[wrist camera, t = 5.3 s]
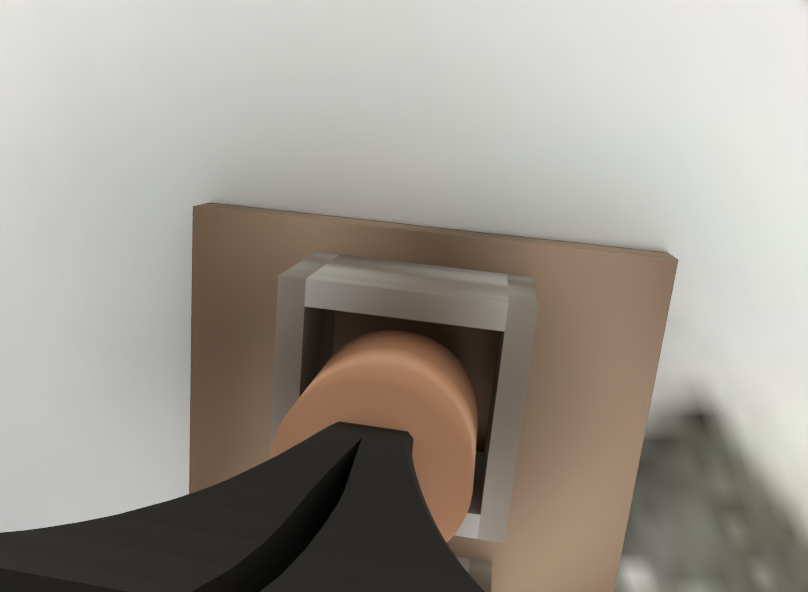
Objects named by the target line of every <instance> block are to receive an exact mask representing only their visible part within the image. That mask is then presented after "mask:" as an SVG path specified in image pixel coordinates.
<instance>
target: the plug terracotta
mask: <svg viewBox="0 0 808 592" xmlns="http://www.w3.org/2000/svg"><path fill="white" fill-rule="evenodd" d="M478 417H479V406H478V398H477V394H476V390H475V387H474V384H473V382H472V379H471V377H470V375H469V374H468V372H467V370H466V369H465V367H464V366H463V364H462V363H461V362H460V361H459V360H458V358H457V357H456V356H455V355H454V354H453V353H452V352H450V351H449V350H448V349H447V348H446V347H444V346H443V345H441V344H440V343H438V342H437V341H435V340H433V339H431V338H429V337H427V336H425V335H421V334H418V333H415V332H411V331H406V330H397V329H387V330H378V331H373V332H369V333H366V334H363V335H360V336H358V337H356V338H354V339H352V340H350V341H349V342H347V343H346V344H344V345H343V346H342V347H340V348H339V349H338V350H337V351H336V352H335V353H334V354H333V355H332V357H331V358H330V359H329V360H328V361H327V363H326V364H325V365H324V367H323V368H322V369H321V370H320V372H319V373H318V374H317V376H316V377H315V378H314V379H313V381H312V382H311V383H310V385H309V386H308V387H307V388H306V390H305V391H304V392H303V394H302V395H301V396H300V397H299V399H298V400H297V401H296V403H295V404H294V405H293V406H292V408H291V409H290V410H289V412H288V413H287V414H286V416H285V417H284V419H283V420H282V422H281V423H280V425H279V427H278V429H277V431H276V434H275V436H274V439H273V443H272V447H271V452H270V459H271V458H273V457H275V456H277V455H279V454H281V453H283V452H284V451H286V450H288V449H290V448H291V447H293V446H295V445H297V444H299V443H300V442H302V441H304V440H306V439H307V438H309V437H311V436H313V435H314V434H316V433H318V432H319V431H321V430H323V429H325V428H326V427H328V426H330V425H332V424H334V423H336V422H339V421H340V422H347V423H354V424H361V425H368V426H375V427H381V428H388V429H395V430H402V431H408V432H409V433H410V435H411V436H412V437H413V449H412V458H413V463H414V468H415V472H416V475H417V479H418V482H419V485H420V488H421V491H422V494H423V496H424V499H425V501H426V504H427V506H428V508H429V510H430V513H431V515H432V517H433V519H434V521H435V523H436V525H437V527H438V529H439V531H440V533H441V534H442V536H443V538H444V539H445V541H446V543H447V542H448V541H449V540H450V539H451V538H452V537H453V536H454V535H455V533H456V532H457V531H458V529H459V528H460V526H461V525H462V523H463V521H464V519H465V517H466V515H467V512H468V509H469V507H470V503H471V498H472V493H473V481H474V469H475V456H476V443H477V431H478Z"/></svg>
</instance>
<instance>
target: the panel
mask: <svg viewBox="0 0 808 592" xmlns="http://www.w3.org/2000/svg"><path fill="white" fill-rule="evenodd" d="M677 264H678V259H676V258H675V257H673V256H672V255H670V254H669V253H664V252H655V251H646V250H637V249H628V248H618V247H609V246H600V245H591V244H582V243H573V242H563V241H554V240H545V239H536V238H527V237H518V236H509V235H499V234H490V233H481V232H472V231H463V230H454V229H444V228H435V227H426V226H417V225H408V224H399V223H390V222H380V221H371V220H362V219H353V218H344V217H335V216H325V215H316V214H307V213H298V212H289V211H280V210H271V209H261V208H252V207H243V206H234V205H225V204H216V203H206V204H202V205H197V206H193V239H192V318H191V398H190V477H189V494H191V493H194V492H197V491H199V490H202V489H205V488H208V487H210V486H213V485H215V484H218V483H220V482H223V481H225V480H228V479H230V478H232V477H234V476H236V475H239V474H241V473H243V472H245V471H247V470H249V469H251V468H253V467H255V466H257V465H259V464H261V463H263V462H265V461H267V460H269V459H270V452H271V447H272V443H273V439H274V436H275V434H276V431H277V429H278V427H279V425H280V423H281V422H282V420H283V419H284V417H285V416H286V414H287V413H288V412H289V410H290V409H291V408H292V406H293V405H294V404H295V403H296V401H297V400H298V399H299V397H300V396H301V395H302V394H303V392H304V391H305V390H306V388H307V387H308V386H309V385H310V383H311V382H312V381H313V379H314V378H315V377H316V376H317V374H318V373H319V372H320V370H321V369H322V368H323V367H324V365H325V364H326V363H327V361H328V360H329V359H330V358H331V357H332V355H333V354H334V353H335V352H336V351H337V350H338V349H339V348H340V347H342V346H343V345H344V344H346V343H347V342H349V341H350V340H352V339H354V338H356V337H358V336H360V335H363V334H366V333H369V332H373V331H378V330H387V329H397V330H406V331H411V332H415V333H418V334H421V335H425V336H427V337H429V338H431V339H433V340H435V341H437V342H438V343H440V344H441V345H443V346H444V347H446V348H447V349H448V350H449V351H450V352H452V353H453V354H454V355H455V356H456V357H457V358H458V360H459V361H460V362H461V363H462V364H463V366H464V367H465V369H466V370H467V372H468V374H469V375H470V377H471V379H472V382H473V384H474V387H475V390H476V394H477V398H478V406H479V417H478V431H477V443H476V456H475V469H474V481H473V493H472V498H471V503H470V507H469V509H468V512H467V515H466V517H465V519H464V521H463V523H462V525H461V526H460V528H459V529H458V531H457V532H456V533H455V535H454V536H453V537H452V538H451V539H450V540H449V541H448V542H447V544H448V546H449V547H450V549H451V551H452V552H453V553H454V555H455V556H456V558H457V559H458V561H459V562H460V563H461V565H462V566H463V567H464V568H465V570H466V571H467V572H468V573H469V574H470V575H471V577H472V578H473V579H474V580H475V581H476V583H477V584H478V585H479V586H480V587H481V588H482V589H483V590H484V591H485V592H614V589H615V584H616V579H617V574H618V569H619V563H620V558H621V553H622V548H623V543H624V538H625V532H626V527H627V522H628V517H629V512H630V507H631V501H632V496H633V491H634V486H635V481H636V476H637V470H638V465H639V460H640V455H641V450H642V445H643V439H644V434H645V429H646V424H647V419H648V414H649V408H650V403H651V398H652V393H653V388H654V383H655V377H656V372H657V367H658V362H659V357H660V352H661V346H662V341H663V336H664V331H665V326H666V321H667V315H668V310H669V305H670V300H671V295H672V290H673V284H674V279H675V274H676V269H677Z"/></svg>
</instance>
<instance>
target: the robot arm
mask: <svg viewBox="0 0 808 592" xmlns="http://www.w3.org/2000/svg"><path fill="white" fill-rule="evenodd" d="M412 449H413V437H412V436H411V435H410V433H409V432H408V431H402V430H395V429H388V428H381V427H375V426H368V425H361V424H354V423H347V422H340V421H339V422H336V423H334V424H332V425H330V426H328V427H326V428H325V429H323V430H321V431H319V432H318V433H316V434H314V435H313V436H311V437H309V438H307V439H306V440H304V441H302V442H300V443H299V444H297V445H295V446H293V447H291V448H290V449H288V450H286V451H284V452H283V453H281V454H279V455H277V456H275V457H273V458H271V459H269V460H267V461H265V462H263V463H261V464H259V465H257V466H255V467H253V468H251V469H249V470H247V471H245V472H243V473H241V474H239V475H236V476H234V477H232V478H230V479H228V480H225V481H223V482H220V483H218V484H215V485H213V486H210V487H208V488H205V489H202V490H199V491H197V492H194V493H191V494H188V495H185V496H183V497H180V498H176V499H173V500H170V501H166V502H163V503H159V504H155V505H151V506H148V507H144V508H140V509H137V510H133V511H129V512H125V513H122V514H118V515H113V516H109V517H104V518H99V519H94V520H89V521H84V522H78V523H72V524H66V525H60V526H54V527H47V528H40V529H33V530H25V531H15V532H4V533H0V592H485V591H484V590H483V589H482V588H481V587H480V586H479V585H478V584H477V583H476V581H475V580H474V579H473V578H472V577H471V575H470V574H469V573H468V572H467V571H466V570H465V568H464V567H463V566H462V565H461V563H460V562H459V561H458V559H457V558H456V556H455V555H454V553H453V552H452V551H451V549H450V547H449V546H448V544H447V543H446V541H445V539H444V538H443V536H442V534H441V533H440V531H439V529H438V527H437V525H436V523H435V521H434V519H433V517H432V515H431V513H430V510H429V508H428V506H427V504H426V501H425V499H424V496H423V494H422V491H421V488H420V485H419V482H418V479H417V475H416V472H415V468H414V463H413V458H412Z"/></svg>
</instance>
